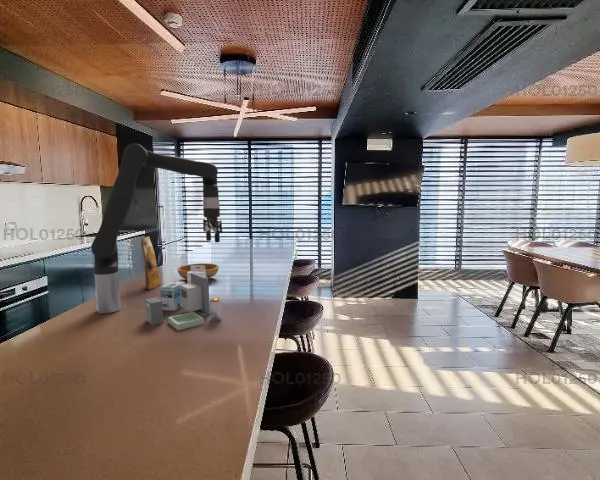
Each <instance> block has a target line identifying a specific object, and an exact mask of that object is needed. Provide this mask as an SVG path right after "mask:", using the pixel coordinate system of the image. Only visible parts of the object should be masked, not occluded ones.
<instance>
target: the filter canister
mask: <svg viewBox="0 0 600 480" xmlns="http://www.w3.org/2000/svg"><path fill="white" fill-rule="evenodd" d="M209 306H210V315H209V316H210V322H216V323H217V322H220V321H222V300H221V299H220V298H219V297H213V298H211V300H210V299H209Z"/></svg>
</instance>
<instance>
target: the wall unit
mask: <svg viewBox="0 0 600 480" xmlns="http://www.w3.org/2000/svg"><path fill="white" fill-rule="evenodd" d="M209 283H210V282H209V278H208V277H205V276H203V275H200V274H198V273H195V272H193V273H191V283H190V284H187V283H185V284H184V285H180V286H181V305H182V307H181V308H182V309H184V310H185V311H187V313H189V312H195V313H196V314H198V315H199V316H201V317H203V318H204V317H208V316H210V287H209Z"/></svg>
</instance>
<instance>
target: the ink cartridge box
mask: <svg viewBox="0 0 600 480" xmlns="http://www.w3.org/2000/svg"><path fill="white" fill-rule="evenodd" d="M190 267H191V271H189V272H187V279H186V280H187V281H186V282H187V283H186V284H190V283H191V273H193V272H195V273H198V274H200V275H203V276H205V277H206V271H205V265H191V266H190ZM195 267H200V269H198V268H195Z"/></svg>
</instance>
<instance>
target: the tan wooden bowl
mask: <svg viewBox="0 0 600 480" xmlns="http://www.w3.org/2000/svg"><path fill="white" fill-rule="evenodd" d="M191 265H205V271H206V277H208V279H210V278H212V277H215V276H216V275H217V274H218V271H219V267H220V266H219V265H218V264H215V263H190V264H189V263H188V264H185V265H181V266H178V267H177V268H176V270H177V272H178V275H179V276H180V277H181V278H183V279H185V280H187V272H189V271H191V267H190V266H191ZM195 268H198V269H200V267H195Z"/></svg>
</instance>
